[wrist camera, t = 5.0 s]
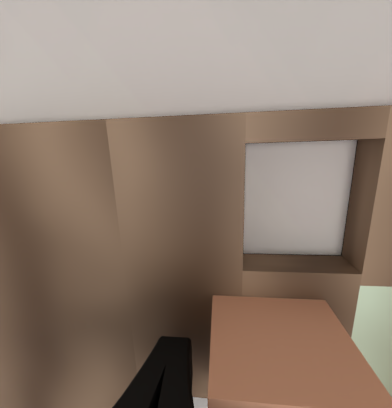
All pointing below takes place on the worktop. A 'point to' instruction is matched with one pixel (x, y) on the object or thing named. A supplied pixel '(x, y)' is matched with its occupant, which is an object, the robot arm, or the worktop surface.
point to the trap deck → (167, 245)
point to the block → (286, 357)
